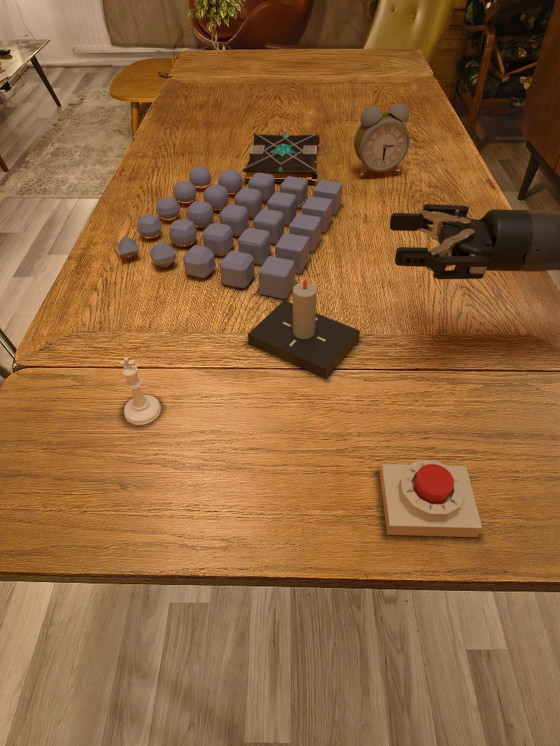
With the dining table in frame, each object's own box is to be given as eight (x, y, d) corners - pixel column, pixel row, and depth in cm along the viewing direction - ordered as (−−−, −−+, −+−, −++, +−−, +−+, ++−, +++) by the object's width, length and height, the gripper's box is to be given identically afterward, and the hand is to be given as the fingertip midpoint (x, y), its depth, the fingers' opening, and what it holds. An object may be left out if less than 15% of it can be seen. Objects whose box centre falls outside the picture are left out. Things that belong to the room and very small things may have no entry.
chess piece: (129, 397, 72) (111, 345, 65) (164, 397, 72) (149, 345, 65) (120, 424, 69) (100, 372, 62) (157, 425, 69) (141, 373, 62)
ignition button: (446, 472, 59) (450, 464, 57) (453, 504, 56) (457, 495, 55) (411, 472, 59) (414, 463, 58) (416, 503, 56) (419, 494, 55)
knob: (314, 339, 77) (316, 295, 71) (292, 338, 77) (291, 294, 71) (315, 325, 80) (317, 280, 74) (293, 324, 80) (293, 280, 74)
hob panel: (358, 340, 80) (360, 329, 78) (326, 379, 74) (326, 368, 73) (284, 309, 86) (284, 299, 84) (248, 343, 80) (247, 333, 78)
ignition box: (462, 475, 63) (470, 456, 60) (477, 537, 57) (487, 519, 54) (379, 474, 63) (383, 455, 60) (386, 535, 57) (391, 517, 55)
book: (317, 186, 116) (317, 164, 113) (243, 184, 117) (241, 163, 114) (319, 147, 131) (320, 126, 128) (253, 146, 132) (252, 125, 129)
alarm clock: (357, 182, 117) (363, 112, 107) (348, 169, 122) (354, 101, 111) (405, 176, 119) (416, 107, 108) (395, 164, 124) (404, 96, 113)
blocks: (285, 300, 87) (285, 276, 84) (112, 263, 96) (105, 240, 92) (341, 204, 110) (342, 182, 106) (196, 182, 119) (193, 161, 115)
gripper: (517, 187, 67) (392, 185, 68) (550, 244, 57) (402, 241, 58) (501, 238, 72) (384, 235, 73) (528, 299, 62) (393, 295, 63)
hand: (392, 238), depth 66 cm, fingers open, 8 cm apart
